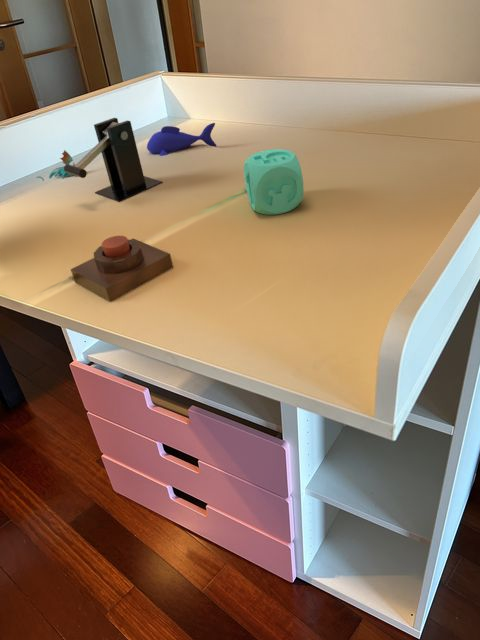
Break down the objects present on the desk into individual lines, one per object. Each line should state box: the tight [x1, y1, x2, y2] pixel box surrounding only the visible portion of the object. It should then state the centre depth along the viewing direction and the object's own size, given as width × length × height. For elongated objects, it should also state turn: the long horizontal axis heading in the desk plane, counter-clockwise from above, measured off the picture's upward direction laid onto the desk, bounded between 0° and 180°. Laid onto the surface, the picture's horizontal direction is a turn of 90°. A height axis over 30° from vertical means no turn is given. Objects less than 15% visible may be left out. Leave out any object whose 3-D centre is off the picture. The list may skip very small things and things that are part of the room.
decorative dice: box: [243, 148, 305, 216], centre depth 92 cm, size 8×8×8 cm
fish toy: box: [146, 122, 217, 157], centre depth 118 cm, size 15×8×7 cm, turn 100°
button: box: [101, 235, 130, 258], centre depth 78 cm, size 4×4×2 cm
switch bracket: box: [93, 117, 164, 203], centre depth 102 cm, size 10×8×13 cm
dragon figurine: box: [35, 149, 79, 182], centre depth 114 cm, size 6×7×8 cm
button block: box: [70, 237, 174, 303], centre depth 80 cm, size 11×9×4 cm
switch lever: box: [64, 122, 119, 179], centre depth 98 cm, size 12×5×2 cm, turn 136°
